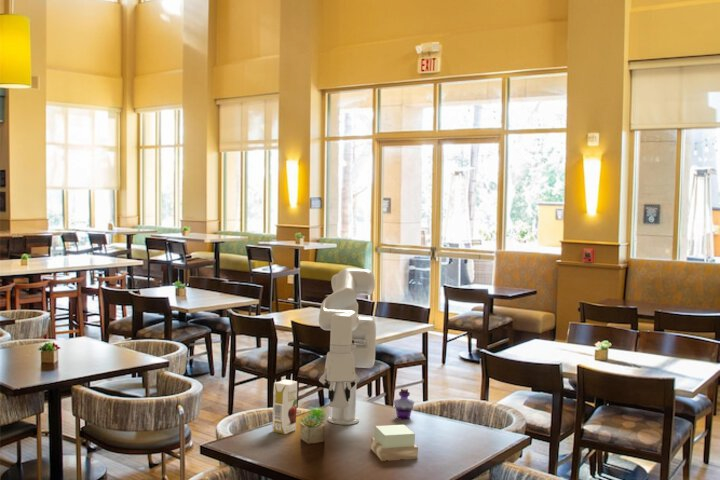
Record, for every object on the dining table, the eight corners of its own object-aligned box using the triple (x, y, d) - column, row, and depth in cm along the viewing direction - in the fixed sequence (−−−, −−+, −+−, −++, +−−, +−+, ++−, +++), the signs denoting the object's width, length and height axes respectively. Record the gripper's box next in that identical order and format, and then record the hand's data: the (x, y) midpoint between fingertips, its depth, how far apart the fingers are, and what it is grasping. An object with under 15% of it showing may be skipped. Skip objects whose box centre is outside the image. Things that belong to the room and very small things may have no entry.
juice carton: (269, 432, 280) (271, 382, 279) (282, 426, 287) (283, 378, 287) (286, 435, 276) (287, 385, 275) (298, 429, 284) (300, 381, 283)
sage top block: (374, 438, 263) (375, 426, 263) (403, 436, 266) (404, 424, 266) (384, 448, 253) (385, 435, 252) (414, 446, 256) (414, 433, 256)
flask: (348, 409, 252) (349, 380, 252) (327, 408, 252) (328, 379, 252) (349, 403, 259) (350, 375, 259) (329, 402, 260) (330, 374, 259)
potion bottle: (403, 413, 312) (404, 385, 312) (418, 418, 306) (419, 389, 305) (388, 416, 307) (389, 388, 306) (402, 421, 300) (403, 392, 300)
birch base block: (371, 450, 264) (371, 437, 264) (405, 448, 268) (405, 435, 268) (381, 462, 252) (382, 449, 251) (417, 460, 255) (417, 447, 255)
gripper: (361, 346, 261) (359, 397, 262) (314, 347, 256) (313, 398, 257) (367, 350, 254) (365, 402, 254) (319, 351, 249) (317, 404, 250)
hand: (339, 400), depth 256 cm, fingers closed on flask, 4 cm apart
